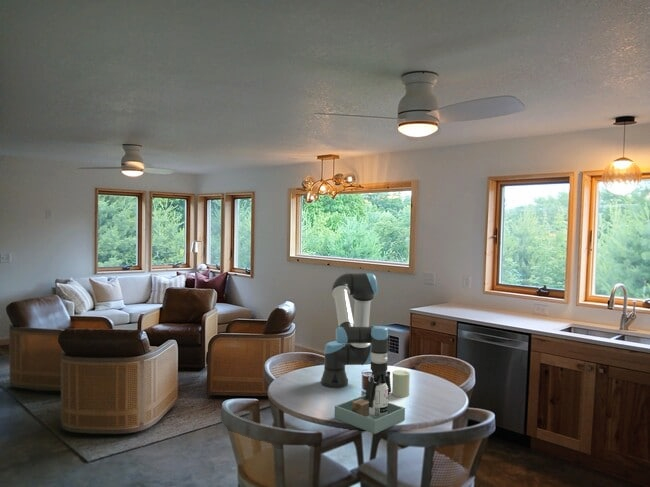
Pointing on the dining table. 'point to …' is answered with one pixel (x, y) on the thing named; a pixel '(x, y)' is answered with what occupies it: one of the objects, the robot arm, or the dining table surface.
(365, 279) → the robot arm
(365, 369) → the dining table surface
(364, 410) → the walnut cube
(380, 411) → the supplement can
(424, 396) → the dining table surface
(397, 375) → the can
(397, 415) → the tote
